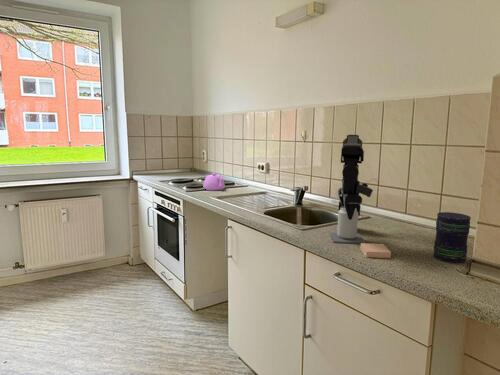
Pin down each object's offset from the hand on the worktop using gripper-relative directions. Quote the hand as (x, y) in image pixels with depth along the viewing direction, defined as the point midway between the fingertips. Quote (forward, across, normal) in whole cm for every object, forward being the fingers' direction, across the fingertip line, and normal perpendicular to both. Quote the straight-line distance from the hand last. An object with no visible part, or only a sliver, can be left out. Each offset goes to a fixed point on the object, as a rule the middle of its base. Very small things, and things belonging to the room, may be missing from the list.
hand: (348, 216), depth 139 cm
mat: (+9, 0, 0) cm, 9 cm away
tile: (+8, -11, -7) cm, 16 cm away
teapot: (+9, +110, +76) cm, 134 cm away
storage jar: (+9, -18, -31) cm, 37 cm away
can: (+9, 0, 0) cm, 9 cm away
